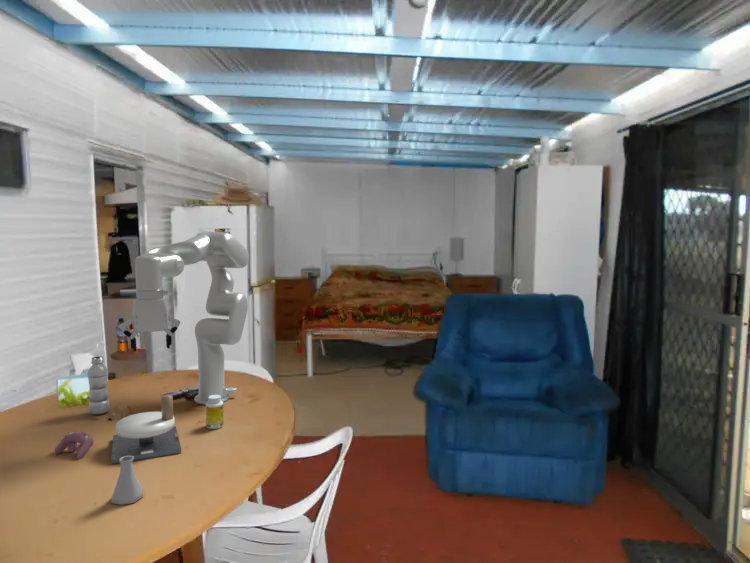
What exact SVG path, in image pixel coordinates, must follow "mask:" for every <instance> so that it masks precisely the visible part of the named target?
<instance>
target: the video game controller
mask: <svg viewBox="0 0 750 563" xmlns="http://www.w3.org/2000/svg"><path fill="white" fill-rule="evenodd" d="M94 440H95V439H94V438H93V437H92V436H90V435H89V434H88V433H86V432H83V431H74V432H73V431H72V432H68V433H67V434H66V435H64V436H63V438H61V440H60V441H59V443H58V444H57V445H56V446H55V449H54V452H53V453H54V454H55V455H57V456H58V455H60V454H61V453H62V452H64V451H65V450H66V449H67V451H68V452H72V453H74V452H76V459H77V460H81V459H82V458H84V457H85V456H86V455H87V454H88V452H89V451H90V448H91V447H93V445H94V442H95V441H94Z"/></svg>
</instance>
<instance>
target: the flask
mask: <svg viewBox="0 0 750 563" xmlns="http://www.w3.org/2000/svg"><path fill="white" fill-rule="evenodd" d="M133 459H134V456H123V457H121V458H120V459H119V463H118V464H120V471H119V474H118V479H117V482H116V485H115V488H114V491H113V494H112V495H111V501H110V503H111V504H114V505H120V506H121V505H128V504H129V505H130V504H133V503H136V502H137V501H139V500H140V499H141V498H143V497H144V488H143V487H142V485H141V483H140V481H139V479H138V476H137V475H136V472H135V470H134V469H135V468H134V465H133V464H134V463H133V462H134V461H133Z"/></svg>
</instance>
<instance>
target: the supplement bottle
mask: <svg viewBox="0 0 750 563" xmlns="http://www.w3.org/2000/svg"><path fill="white" fill-rule="evenodd" d="M223 426H224V402H222V401H221V396H220V395H211V396H209V397H208V402H207V403H206V404H205V427H206V428H207V429H210V430H216V429H220V428H223Z"/></svg>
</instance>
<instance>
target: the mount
mask: <svg viewBox="0 0 750 563" xmlns="http://www.w3.org/2000/svg"><path fill="white" fill-rule="evenodd" d="M177 454H178V455H179V454H182V447H181V442H180V437H179V432H178V429H177V426H175V425H174V427H173V428H172V429H171V430H169V431H168V432H165V433H163V434H160V435H157V436H152V437H147V438H124V437H121V436H118V435H117V434H113V436H112V448H111V465H116V464H120V463H119V459H120V458H121V457H123V456H134V459H133V461H132V462H134V461H140V460H146V459H147V460H148V459H153V458H160V457H164V456H172V455H177Z"/></svg>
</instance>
